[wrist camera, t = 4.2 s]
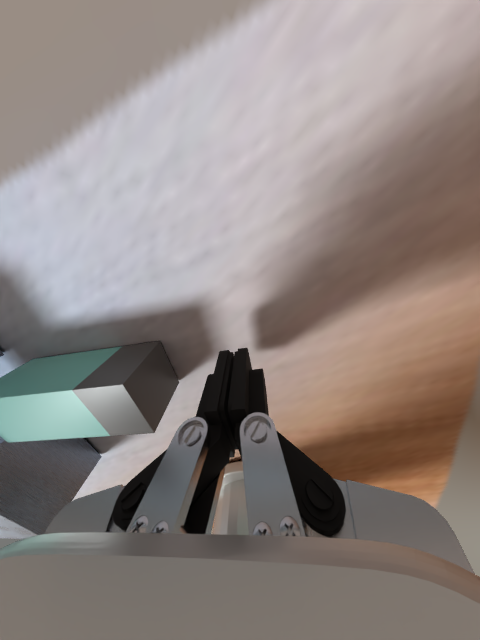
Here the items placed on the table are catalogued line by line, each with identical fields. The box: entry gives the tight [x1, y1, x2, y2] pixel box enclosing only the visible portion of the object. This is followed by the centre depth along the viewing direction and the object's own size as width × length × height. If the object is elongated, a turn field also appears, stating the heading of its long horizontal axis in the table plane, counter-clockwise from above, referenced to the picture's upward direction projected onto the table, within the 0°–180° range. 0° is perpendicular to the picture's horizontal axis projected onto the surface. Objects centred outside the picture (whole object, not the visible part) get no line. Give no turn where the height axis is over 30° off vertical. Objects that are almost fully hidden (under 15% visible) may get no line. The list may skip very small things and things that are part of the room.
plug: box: [0, 341, 179, 442], centre depth 12 cm, size 11×4×4 cm, turn 101°
